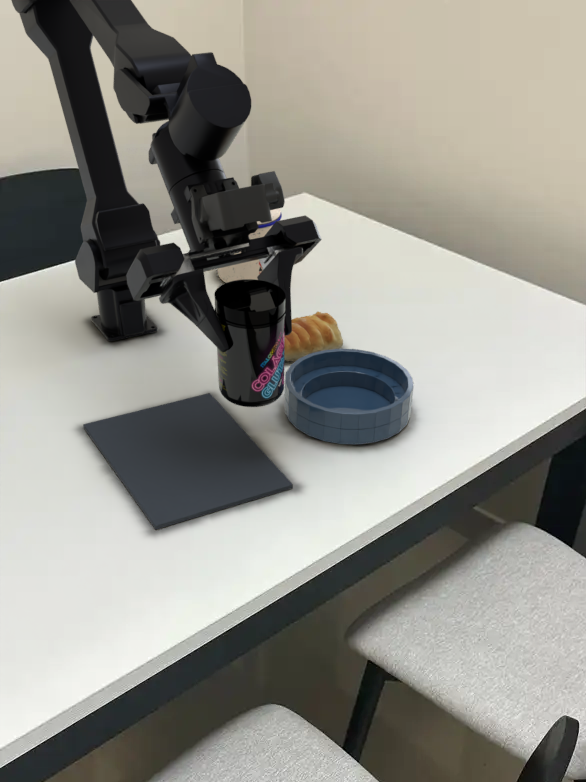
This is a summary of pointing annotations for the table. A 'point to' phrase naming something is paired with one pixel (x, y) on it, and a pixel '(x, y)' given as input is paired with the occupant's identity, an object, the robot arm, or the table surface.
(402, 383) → the bowl
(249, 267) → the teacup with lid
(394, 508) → the table surface
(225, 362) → the supplement container
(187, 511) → the placemat
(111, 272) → the robot arm
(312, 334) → the pastry
